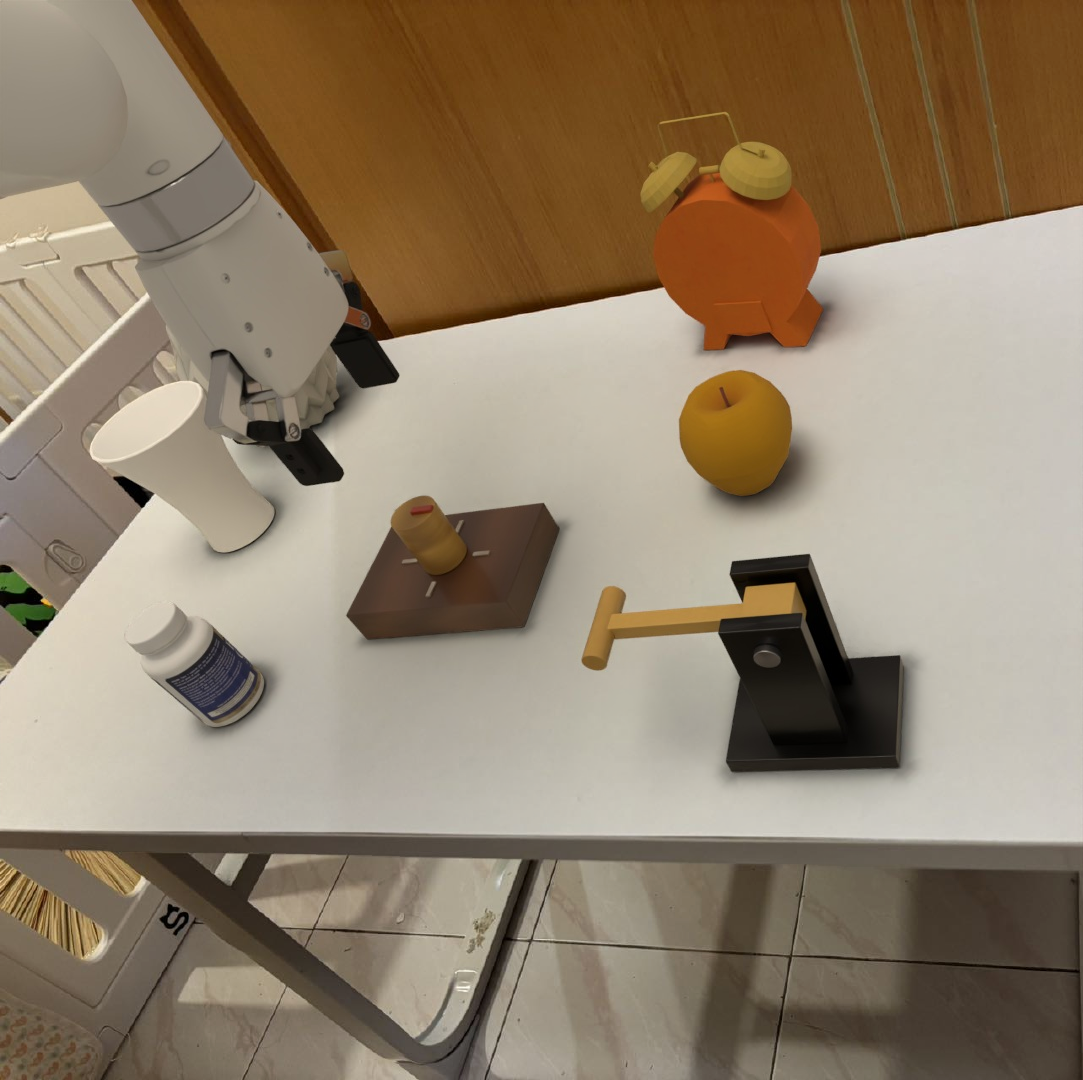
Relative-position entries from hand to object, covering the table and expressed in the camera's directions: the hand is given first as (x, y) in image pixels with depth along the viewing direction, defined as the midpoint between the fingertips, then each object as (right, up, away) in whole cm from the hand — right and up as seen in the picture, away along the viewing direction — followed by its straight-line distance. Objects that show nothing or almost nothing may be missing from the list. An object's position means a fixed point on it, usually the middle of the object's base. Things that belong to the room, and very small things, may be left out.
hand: (354, 429), depth 68 cm
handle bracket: (+30, -18, -7) cm, 36 cm away
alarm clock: (+28, +12, +24) cm, 39 cm away
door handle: (+23, -13, -11) cm, 29 cm away
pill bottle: (-13, -20, +11) cm, 26 cm away
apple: (+27, -3, +10) cm, 29 cm away
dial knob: (+3, -9, +10) cm, 14 cm away
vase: (-20, +6, +40) cm, 45 cm away
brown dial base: (+4, -11, +12) cm, 17 cm away
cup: (-20, -6, +28) cm, 35 cm away
